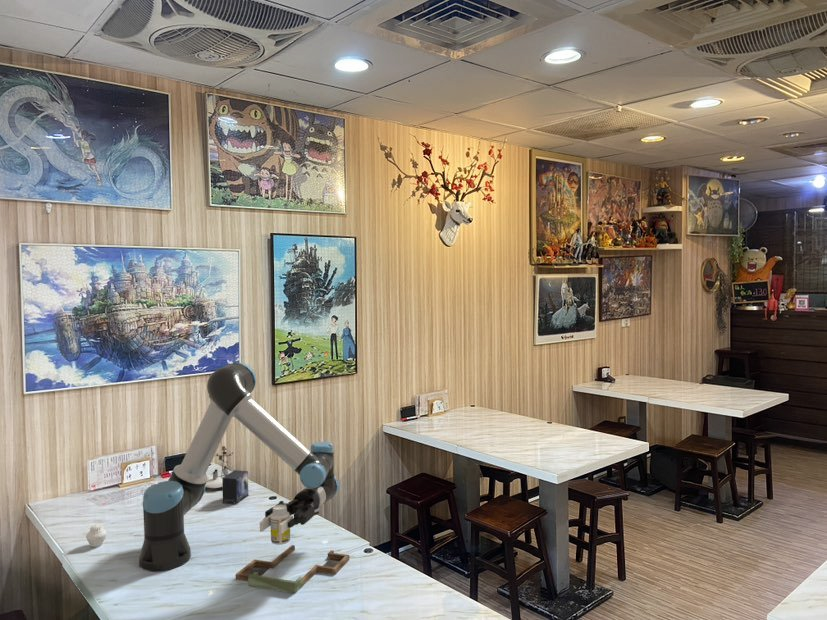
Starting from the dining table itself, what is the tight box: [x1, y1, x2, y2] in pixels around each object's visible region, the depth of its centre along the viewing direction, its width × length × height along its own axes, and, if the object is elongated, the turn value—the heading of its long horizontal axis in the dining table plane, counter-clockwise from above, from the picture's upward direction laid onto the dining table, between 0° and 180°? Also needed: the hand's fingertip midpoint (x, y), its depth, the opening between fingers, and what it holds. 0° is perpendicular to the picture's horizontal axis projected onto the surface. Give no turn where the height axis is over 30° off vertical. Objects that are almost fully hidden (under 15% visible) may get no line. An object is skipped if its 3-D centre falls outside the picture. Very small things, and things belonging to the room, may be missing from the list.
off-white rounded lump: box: [85, 524, 108, 548], centre depth 205 cm, size 6×6×7 cm
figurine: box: [205, 445, 234, 489], centre depth 266 cm, size 20×18×16 cm
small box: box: [221, 469, 249, 505], centre depth 246 cm, size 11×6×10 cm, turn 168°
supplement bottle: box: [269, 504, 291, 546], centre depth 177 cm, size 6×6×10 cm
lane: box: [235, 544, 350, 594], centre depth 185 cm, size 25×27×3 cm
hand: (270, 528), depth 173 cm, fingers closed on supplement bottle, 6 cm apart
